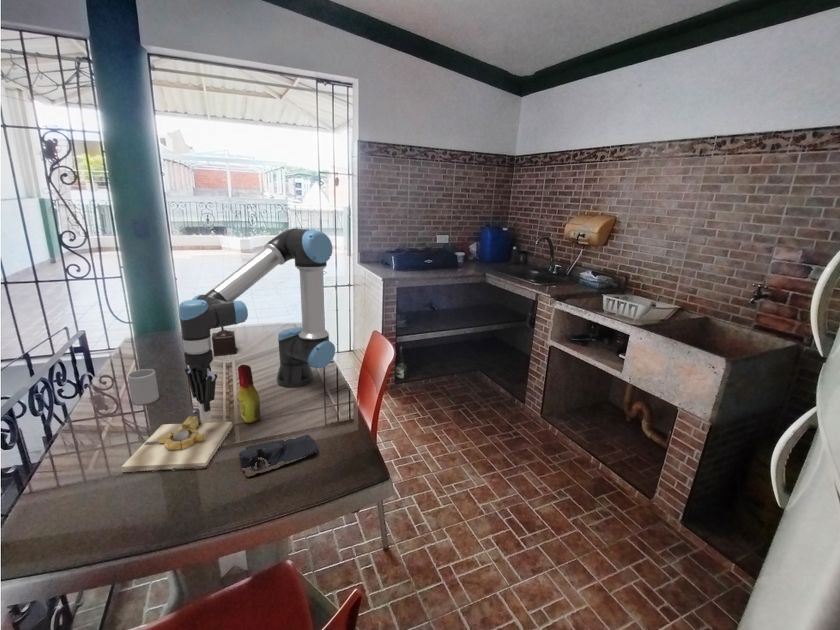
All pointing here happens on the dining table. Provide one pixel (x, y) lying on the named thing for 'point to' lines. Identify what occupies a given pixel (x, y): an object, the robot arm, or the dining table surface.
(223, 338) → the coffee grinder
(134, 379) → the mug
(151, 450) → the post board
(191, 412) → the collar
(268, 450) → the dark slate chunk
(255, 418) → the bottle
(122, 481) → the dining table surface
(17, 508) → the dining table surface
